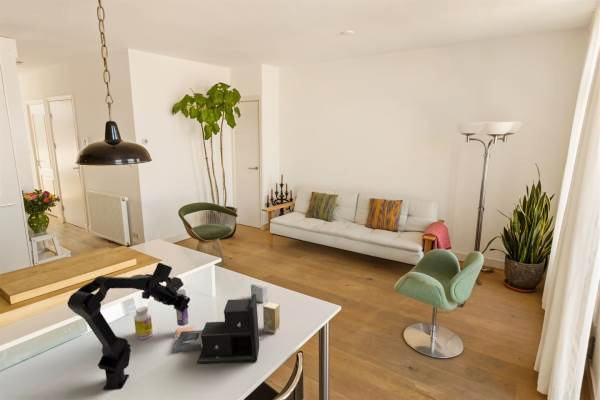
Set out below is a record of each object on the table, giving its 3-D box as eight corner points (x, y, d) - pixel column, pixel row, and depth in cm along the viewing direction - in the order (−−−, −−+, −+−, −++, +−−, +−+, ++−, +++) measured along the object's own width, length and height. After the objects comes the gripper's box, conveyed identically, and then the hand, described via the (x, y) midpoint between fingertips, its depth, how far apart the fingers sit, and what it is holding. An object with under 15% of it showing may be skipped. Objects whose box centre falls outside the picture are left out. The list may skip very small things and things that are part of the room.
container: (188, 319, 153) (185, 288, 151) (188, 324, 149) (186, 292, 146) (177, 321, 152) (174, 290, 149) (177, 326, 147) (174, 294, 145)
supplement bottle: (146, 340, 146) (143, 313, 144) (133, 339, 147) (129, 312, 145) (156, 331, 153) (153, 305, 150) (143, 330, 154) (139, 304, 151)
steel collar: (201, 350, 139) (200, 344, 138) (175, 352, 138) (175, 346, 137) (205, 336, 149) (205, 329, 148) (181, 337, 148) (181, 331, 147)
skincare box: (263, 331, 152) (262, 305, 149) (268, 326, 155) (267, 301, 153) (275, 334, 149) (275, 308, 146) (280, 329, 153) (279, 304, 150)
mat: (190, 336, 148) (190, 335, 148) (174, 337, 148) (174, 337, 148) (193, 327, 155) (193, 326, 155) (178, 328, 155) (178, 328, 155)
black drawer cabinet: (196, 364, 131) (191, 308, 126) (203, 347, 141) (199, 294, 136) (257, 362, 131) (254, 306, 126) (259, 345, 142) (257, 293, 137)
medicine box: (268, 299, 180) (267, 284, 178) (263, 303, 176) (262, 288, 174) (256, 296, 184) (255, 281, 182) (251, 299, 180) (250, 284, 178)
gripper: (184, 279, 137) (207, 294, 148) (157, 269, 148) (180, 284, 159) (169, 305, 132) (194, 318, 143) (142, 293, 143) (167, 306, 154)
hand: (184, 305), depth 150 cm, fingers closed on container, 5 cm apart
